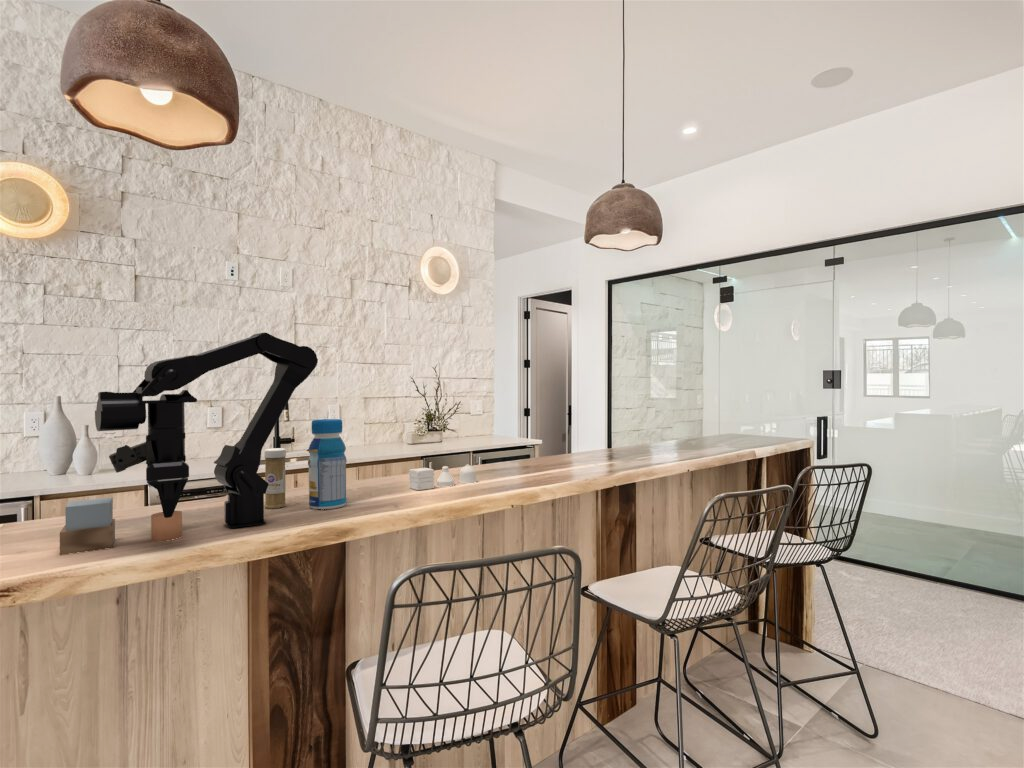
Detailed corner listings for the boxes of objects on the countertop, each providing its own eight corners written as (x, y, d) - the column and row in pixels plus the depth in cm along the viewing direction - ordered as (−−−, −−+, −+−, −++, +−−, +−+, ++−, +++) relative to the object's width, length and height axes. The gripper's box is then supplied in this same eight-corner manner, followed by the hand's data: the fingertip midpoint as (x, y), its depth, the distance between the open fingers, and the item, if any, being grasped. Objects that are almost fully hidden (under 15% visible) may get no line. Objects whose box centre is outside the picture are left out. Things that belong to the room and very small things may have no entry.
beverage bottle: (335, 511, 120) (334, 420, 121) (300, 509, 122) (299, 420, 122) (353, 503, 129) (352, 418, 129) (321, 502, 130) (320, 418, 131)
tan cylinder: (181, 533, 103) (181, 509, 103) (182, 539, 99) (182, 514, 99) (151, 537, 100) (151, 513, 100) (151, 543, 96) (150, 517, 96)
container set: (418, 491, 143) (417, 471, 143) (409, 489, 147) (408, 469, 147) (480, 483, 156) (480, 464, 156) (470, 480, 160) (470, 462, 160)
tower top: (112, 519, 99) (112, 497, 99) (110, 525, 94) (110, 502, 94) (70, 524, 96) (70, 501, 96) (65, 531, 91) (65, 507, 91)
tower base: (115, 540, 99) (114, 518, 99) (112, 549, 94) (112, 526, 94) (65, 547, 96) (65, 524, 96) (59, 556, 90) (59, 532, 90)
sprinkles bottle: (262, 509, 123) (262, 450, 123) (267, 505, 127) (267, 448, 128) (284, 508, 124) (283, 449, 124) (288, 504, 128) (287, 447, 128)
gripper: (115, 427, 103) (116, 509, 103) (108, 433, 88) (109, 530, 88) (183, 424, 109) (184, 502, 109) (188, 429, 94) (189, 520, 94)
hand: (167, 512), depth 100 cm, fingers open, 9 cm apart
